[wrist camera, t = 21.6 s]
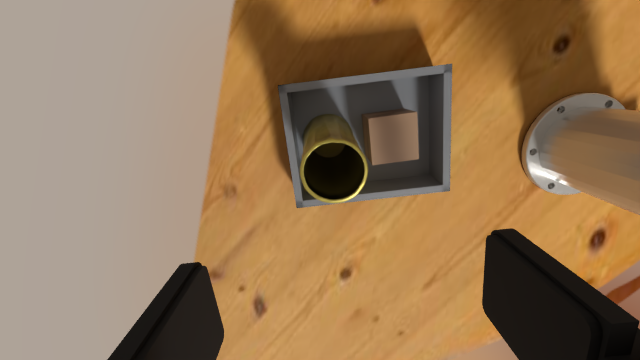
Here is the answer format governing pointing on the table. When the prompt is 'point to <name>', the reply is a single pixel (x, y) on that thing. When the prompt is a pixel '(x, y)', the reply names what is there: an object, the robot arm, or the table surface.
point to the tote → (367, 97)
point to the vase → (332, 160)
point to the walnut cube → (390, 136)
